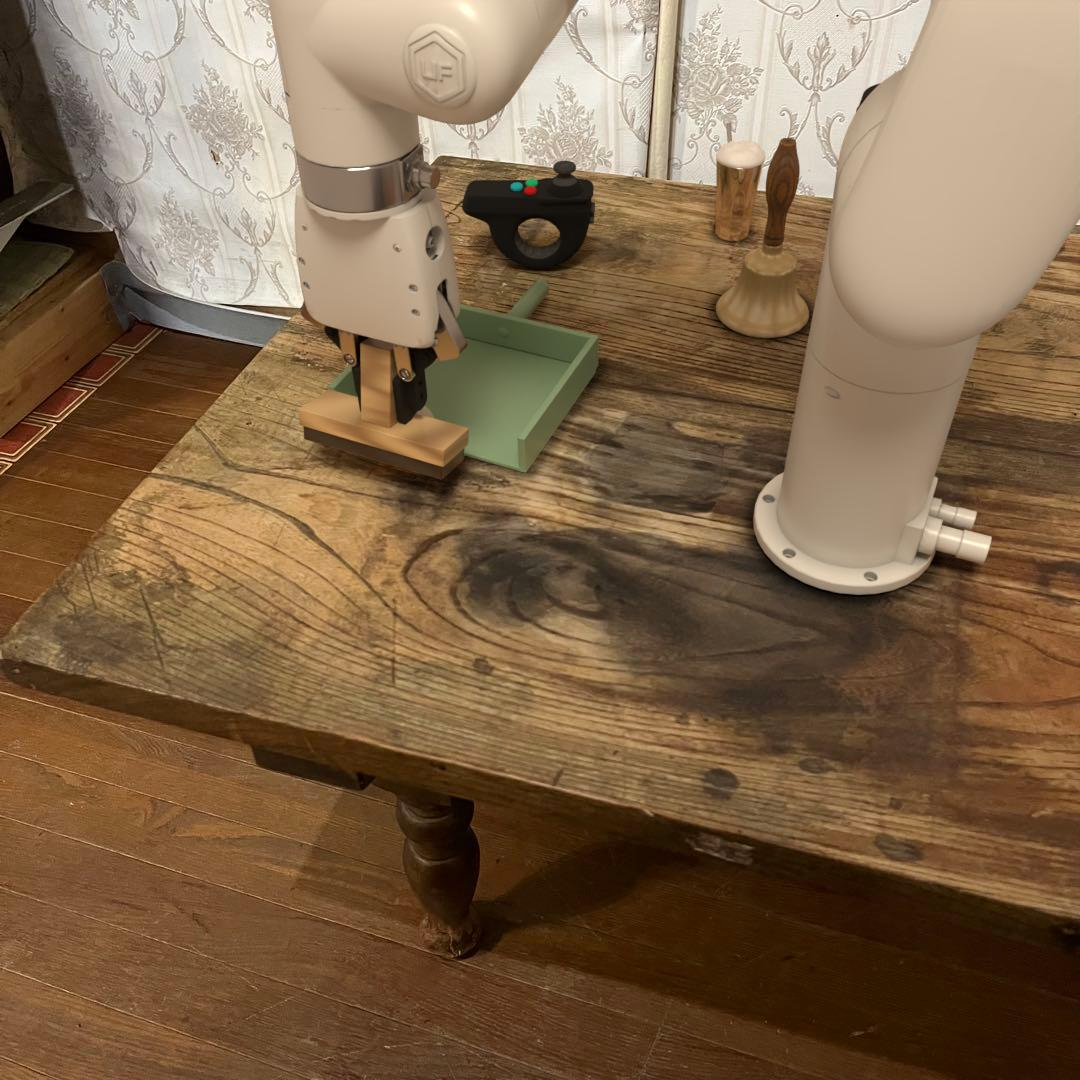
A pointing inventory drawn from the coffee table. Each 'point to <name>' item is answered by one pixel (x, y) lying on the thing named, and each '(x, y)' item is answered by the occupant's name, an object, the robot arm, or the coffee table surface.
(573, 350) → the dustpan
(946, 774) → the coffee table surface
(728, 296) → the hand bell
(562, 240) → the controller
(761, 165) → the milkshake
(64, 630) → the coffee table surface
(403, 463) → the brush
